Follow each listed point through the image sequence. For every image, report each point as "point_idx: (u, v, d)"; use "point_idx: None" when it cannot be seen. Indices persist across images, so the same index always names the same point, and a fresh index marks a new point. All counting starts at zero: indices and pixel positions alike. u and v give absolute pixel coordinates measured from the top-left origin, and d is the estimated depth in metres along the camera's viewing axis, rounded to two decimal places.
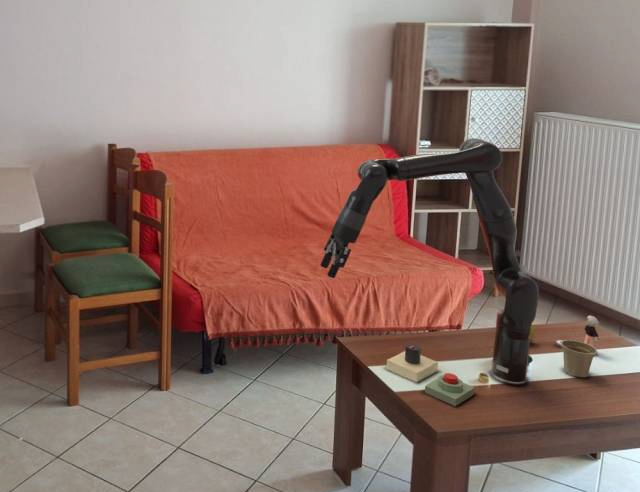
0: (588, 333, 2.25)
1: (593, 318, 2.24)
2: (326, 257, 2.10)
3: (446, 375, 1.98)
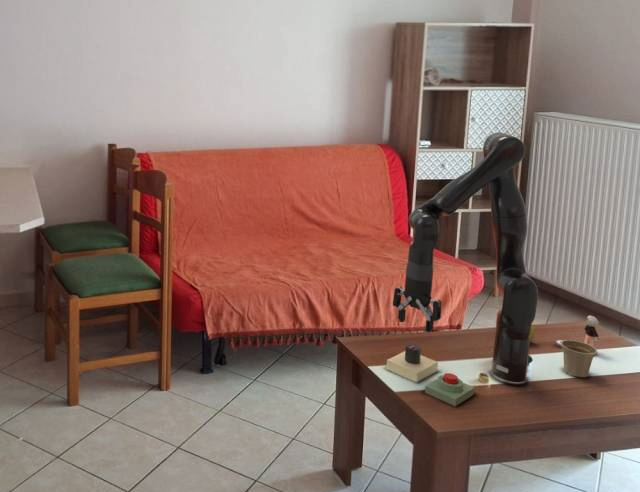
0: (588, 333, 2.25)
1: (593, 318, 2.24)
2: (402, 312, 2.13)
3: (446, 375, 1.98)
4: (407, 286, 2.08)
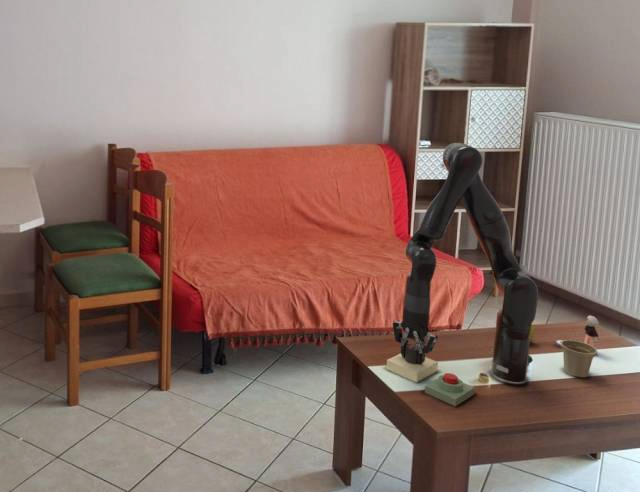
0: (588, 333, 2.25)
1: (593, 318, 2.24)
2: (405, 348, 2.12)
3: (446, 375, 1.98)
4: (404, 318, 2.09)
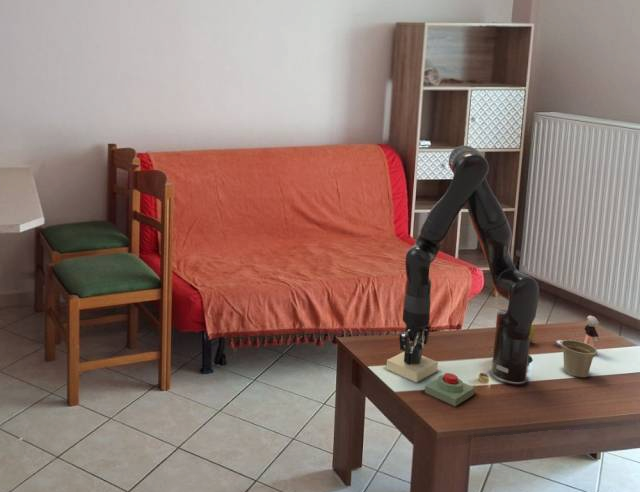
0: (588, 333, 2.25)
1: (593, 318, 2.24)
2: None
3: (446, 375, 1.98)
4: None
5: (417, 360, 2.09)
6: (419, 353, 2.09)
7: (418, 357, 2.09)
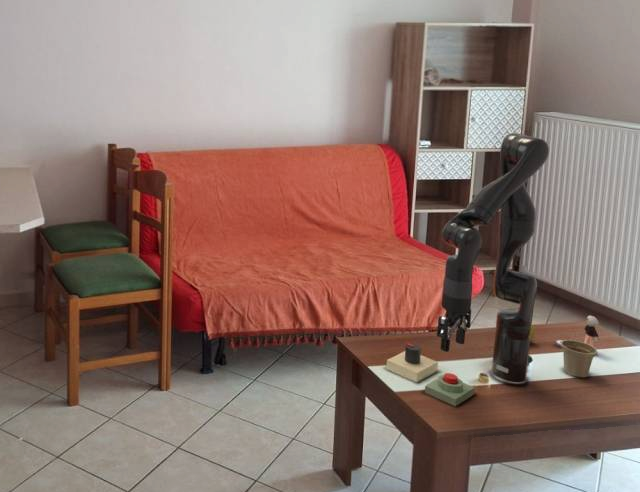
0: (588, 333, 2.25)
1: (593, 318, 2.24)
2: (458, 332, 1.99)
3: (446, 375, 1.98)
4: None
5: (417, 360, 2.09)
6: (419, 353, 2.09)
7: (418, 357, 2.09)
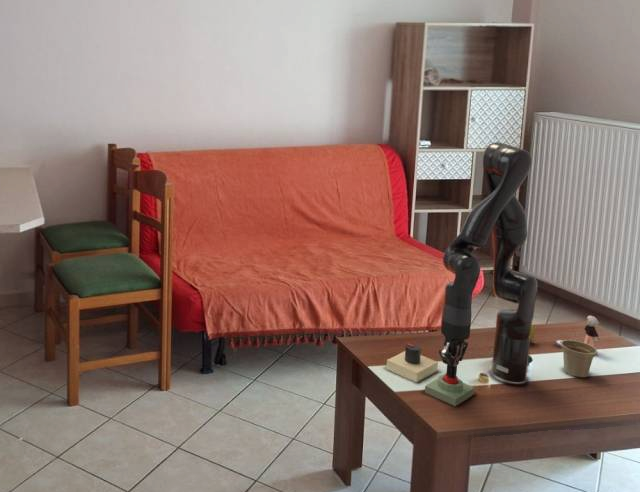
0: (588, 333, 2.25)
1: (593, 318, 2.24)
2: None
3: (446, 375, 1.98)
4: None
5: (417, 360, 2.09)
6: (419, 353, 2.09)
7: (418, 357, 2.09)
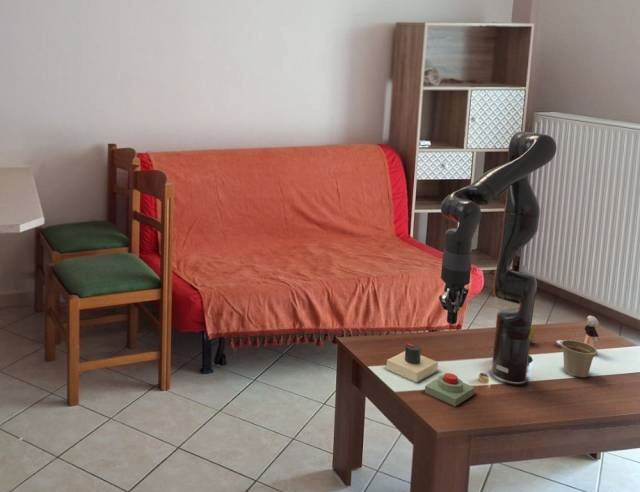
0: (588, 333, 2.25)
1: (593, 318, 2.24)
2: None
3: (446, 375, 1.98)
4: None
5: (417, 360, 2.09)
6: (419, 353, 2.09)
7: (418, 357, 2.09)
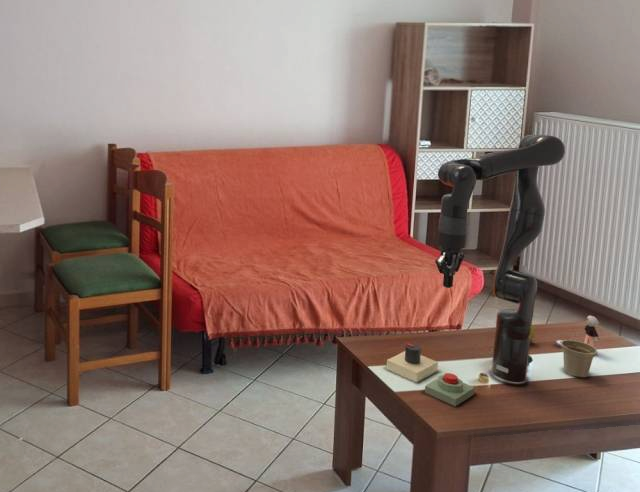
0: (588, 333, 2.25)
1: (593, 318, 2.24)
2: None
3: (446, 375, 1.98)
4: None
5: (417, 360, 2.09)
6: (419, 353, 2.09)
7: (418, 357, 2.09)
